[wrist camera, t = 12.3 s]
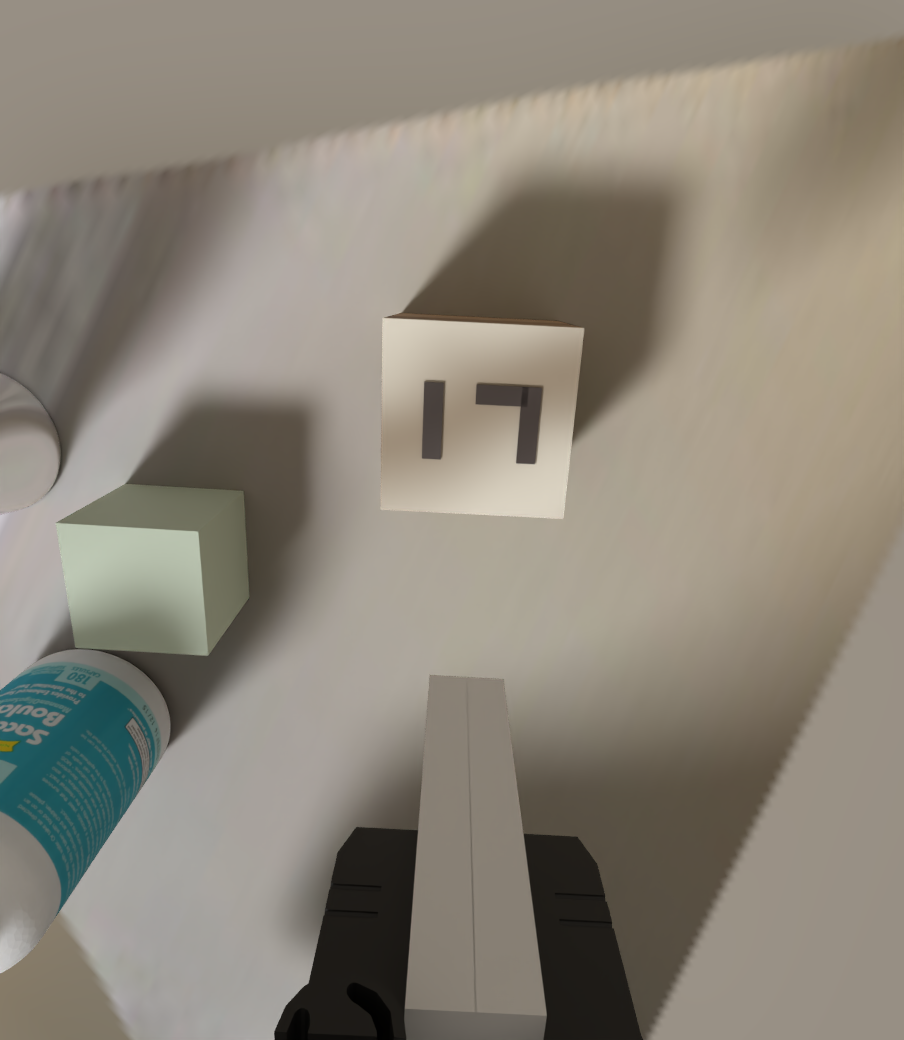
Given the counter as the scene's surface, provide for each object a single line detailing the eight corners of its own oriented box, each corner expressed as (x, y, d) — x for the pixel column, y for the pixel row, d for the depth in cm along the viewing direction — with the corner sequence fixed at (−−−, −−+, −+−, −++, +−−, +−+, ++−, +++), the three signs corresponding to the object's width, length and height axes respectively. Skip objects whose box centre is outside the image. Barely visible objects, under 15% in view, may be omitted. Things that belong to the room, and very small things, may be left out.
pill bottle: (121, 618, 29) (-144, 869, 16) (205, 742, 31) (30, 1048, 19) (-11, 675, 30) (-354, 950, 18) (79, 790, 33) (-167, 1110, 20)
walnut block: (584, 328, 19) (557, 320, 25) (382, 318, 19) (401, 312, 25) (563, 519, 21) (542, 471, 27) (380, 510, 21) (398, 464, 27)
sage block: (249, 596, 29) (208, 655, 24) (138, 590, 29) (75, 647, 24) (244, 490, 27) (198, 531, 22) (126, 483, 27) (55, 522, 22)
